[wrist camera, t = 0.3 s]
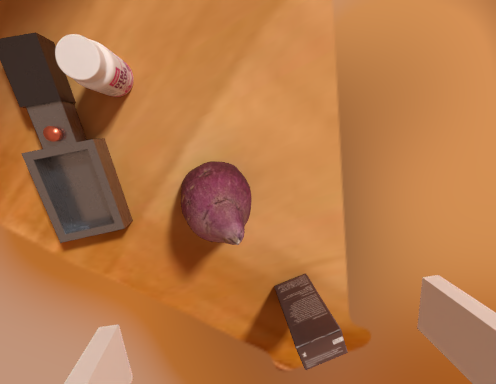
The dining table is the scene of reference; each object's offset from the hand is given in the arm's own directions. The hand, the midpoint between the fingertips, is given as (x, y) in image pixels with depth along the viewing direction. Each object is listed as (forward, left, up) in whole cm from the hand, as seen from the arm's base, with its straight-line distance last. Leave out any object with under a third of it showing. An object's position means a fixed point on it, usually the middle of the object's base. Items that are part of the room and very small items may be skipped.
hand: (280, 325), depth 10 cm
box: (+19, +6, -27) cm, 33 cm away
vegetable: (0, -3, -27) cm, 27 cm away
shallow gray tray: (-11, -20, -26) cm, 35 cm away
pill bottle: (-18, -12, -27) cm, 34 cm away
